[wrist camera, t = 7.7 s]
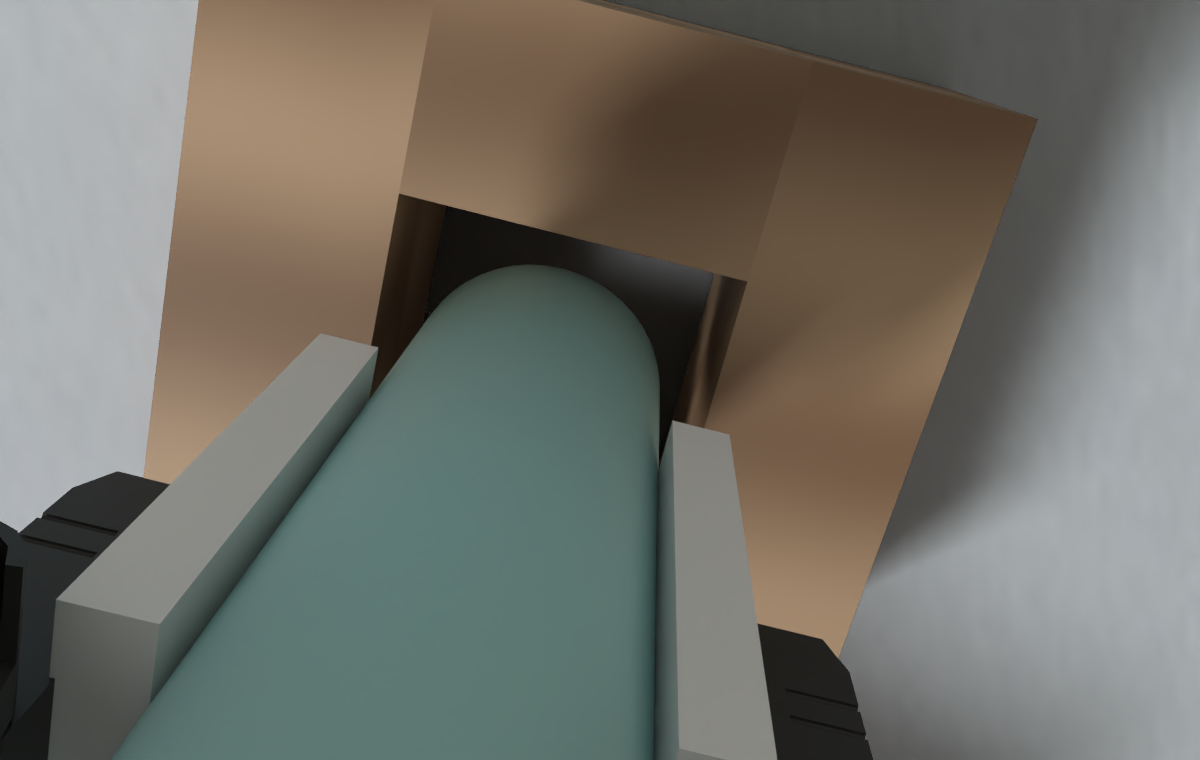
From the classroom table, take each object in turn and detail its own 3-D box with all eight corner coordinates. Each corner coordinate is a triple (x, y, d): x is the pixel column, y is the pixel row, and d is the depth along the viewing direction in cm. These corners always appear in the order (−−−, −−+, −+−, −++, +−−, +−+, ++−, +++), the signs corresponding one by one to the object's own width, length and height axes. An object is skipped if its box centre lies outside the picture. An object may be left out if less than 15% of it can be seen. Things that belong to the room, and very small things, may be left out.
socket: (765, 636, 25) (790, 789, 20) (231, 505, 24) (125, 629, 20) (952, 90, 21) (1037, 119, 16) (315, -75, 20) (209, -95, 16)
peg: (687, 299, 17) (764, 1308, 4) (625, 525, 19) (527, 1832, 5) (435, 236, 17) (-324, 1061, 4) (390, 467, 18) (-293, 1660, 5)
